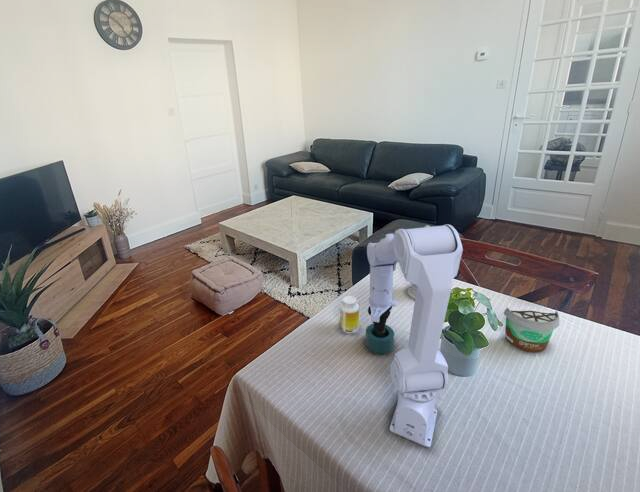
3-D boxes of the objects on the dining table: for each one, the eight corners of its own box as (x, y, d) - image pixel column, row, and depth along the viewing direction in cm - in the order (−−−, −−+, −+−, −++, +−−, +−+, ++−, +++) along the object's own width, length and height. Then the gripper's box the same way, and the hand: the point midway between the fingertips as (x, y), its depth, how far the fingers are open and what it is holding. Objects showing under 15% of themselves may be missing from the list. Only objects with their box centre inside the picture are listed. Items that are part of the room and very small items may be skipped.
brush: (383, 342, 92) (384, 319, 89) (374, 339, 93) (374, 317, 90) (385, 336, 94) (386, 313, 91) (376, 333, 95) (376, 311, 92)
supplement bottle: (362, 328, 101) (363, 299, 98) (350, 337, 98) (350, 307, 94) (348, 320, 105) (348, 292, 102) (336, 328, 102) (335, 299, 99)
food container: (507, 353, 88) (513, 321, 84) (498, 337, 93) (504, 306, 90) (562, 358, 85) (571, 325, 81) (550, 341, 90) (558, 310, 86)
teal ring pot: (389, 357, 89) (390, 344, 88) (362, 349, 93) (362, 335, 92) (396, 340, 95) (396, 327, 94) (370, 333, 99) (370, 320, 97)
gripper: (392, 303, 80) (390, 349, 84) (401, 274, 91) (399, 315, 96) (362, 297, 83) (362, 342, 88) (375, 270, 95) (374, 310, 99)
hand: (379, 328), depth 92 cm, fingers closed on brush
